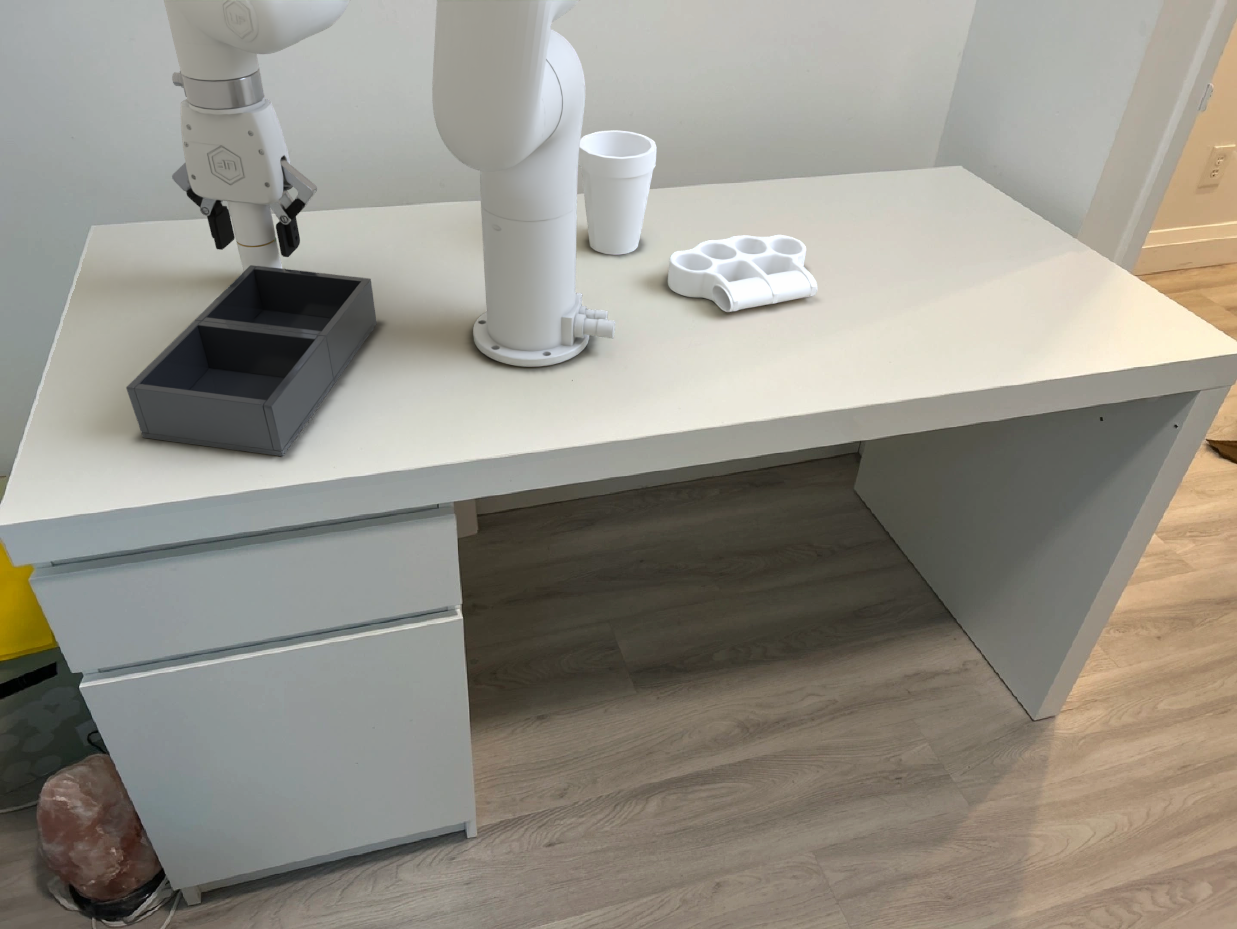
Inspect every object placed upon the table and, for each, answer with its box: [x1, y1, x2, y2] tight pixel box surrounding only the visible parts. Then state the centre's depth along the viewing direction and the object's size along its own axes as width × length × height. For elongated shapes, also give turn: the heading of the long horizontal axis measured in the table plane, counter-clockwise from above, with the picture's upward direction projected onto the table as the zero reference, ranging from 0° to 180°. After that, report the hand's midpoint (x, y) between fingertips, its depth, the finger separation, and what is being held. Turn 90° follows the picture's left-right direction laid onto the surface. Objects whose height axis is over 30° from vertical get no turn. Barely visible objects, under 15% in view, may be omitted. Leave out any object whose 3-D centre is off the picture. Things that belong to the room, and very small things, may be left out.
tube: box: [226, 201, 283, 273], centre depth 107 cm, size 4×4×15 cm
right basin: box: [194, 265, 378, 385], centre depth 100 cm, size 14×12×6 cm
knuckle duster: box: [667, 234, 819, 313], centre depth 116 cm, size 3×18×15 cm
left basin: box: [125, 320, 335, 457], centre depth 91 cm, size 14×12×6 cm
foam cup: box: [578, 129, 658, 256], centre depth 120 cm, size 10×9×13 cm
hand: (257, 247), depth 109 cm, fingers open, 7 cm apart
